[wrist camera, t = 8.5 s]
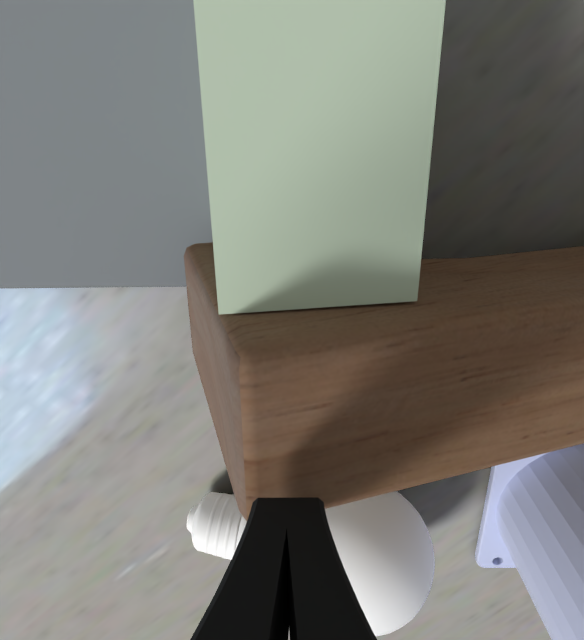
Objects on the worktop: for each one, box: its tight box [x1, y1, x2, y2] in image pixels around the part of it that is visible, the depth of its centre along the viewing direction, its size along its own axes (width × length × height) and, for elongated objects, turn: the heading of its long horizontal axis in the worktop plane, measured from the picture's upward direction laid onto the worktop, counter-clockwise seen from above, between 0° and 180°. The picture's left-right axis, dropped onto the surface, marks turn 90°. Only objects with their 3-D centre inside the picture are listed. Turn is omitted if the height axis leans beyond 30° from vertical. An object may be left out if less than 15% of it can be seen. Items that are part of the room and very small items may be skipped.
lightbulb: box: [187, 491, 435, 636], centre depth 21 cm, size 6×6×11 cm
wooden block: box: [184, 242, 584, 521], centre depth 16 cm, size 9×4×18 cm
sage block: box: [193, 0, 446, 315], centre depth 13 cm, size 4×8×8 cm, turn 1°
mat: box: [0, 0, 213, 288], centre depth 16 cm, size 14×12×1 cm
